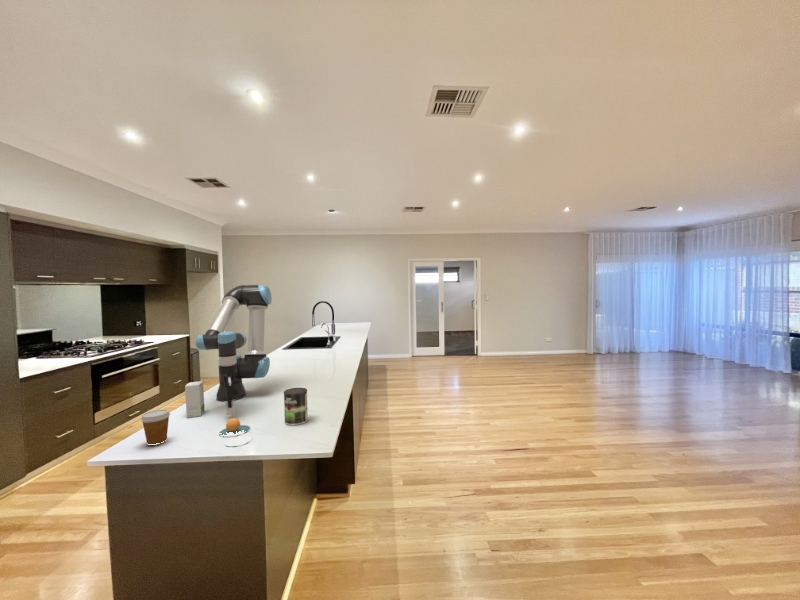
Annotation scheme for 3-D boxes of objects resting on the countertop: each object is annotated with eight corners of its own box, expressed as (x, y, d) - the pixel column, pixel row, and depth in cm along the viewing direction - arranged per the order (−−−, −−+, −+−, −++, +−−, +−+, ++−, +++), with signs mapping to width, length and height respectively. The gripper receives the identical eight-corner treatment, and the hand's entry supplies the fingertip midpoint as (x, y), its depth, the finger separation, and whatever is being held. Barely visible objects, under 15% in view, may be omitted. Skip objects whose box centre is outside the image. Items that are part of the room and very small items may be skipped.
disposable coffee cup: (146, 440, 139) (144, 411, 139) (173, 435, 143) (172, 407, 142) (138, 450, 130) (137, 419, 130) (168, 445, 134) (167, 415, 134)
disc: (229, 425, 152) (229, 425, 152) (255, 425, 152) (255, 425, 152) (212, 437, 140) (212, 436, 140) (241, 437, 140) (241, 436, 140)
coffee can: (299, 426, 149) (297, 394, 149) (279, 424, 153) (278, 393, 152) (312, 418, 159) (311, 388, 158) (294, 415, 162) (293, 386, 162)
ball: (230, 414, 148) (231, 417, 143) (242, 419, 150) (243, 422, 145) (222, 427, 146) (223, 430, 141) (235, 431, 148) (236, 435, 144)
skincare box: (200, 416, 165) (199, 384, 164) (185, 418, 163) (183, 386, 162) (205, 410, 173) (203, 380, 172) (190, 412, 171) (188, 381, 170)
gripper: (217, 363, 165) (219, 411, 165) (220, 368, 154) (222, 419, 154) (235, 361, 169) (236, 408, 169) (238, 365, 158) (240, 416, 158)
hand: (229, 413), depth 162 cm, fingers closed
